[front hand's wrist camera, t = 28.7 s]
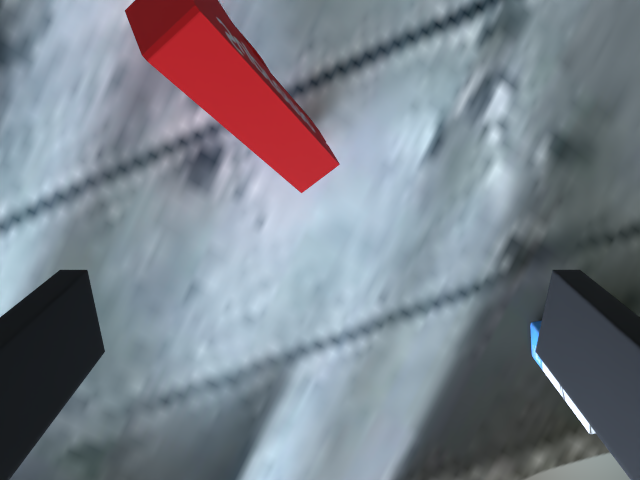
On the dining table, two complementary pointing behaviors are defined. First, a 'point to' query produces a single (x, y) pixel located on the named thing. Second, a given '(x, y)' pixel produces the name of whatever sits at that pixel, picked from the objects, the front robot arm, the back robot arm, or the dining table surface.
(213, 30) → the toy gun
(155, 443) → the dining table surface
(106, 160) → the dining table surface
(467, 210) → the dining table surface
